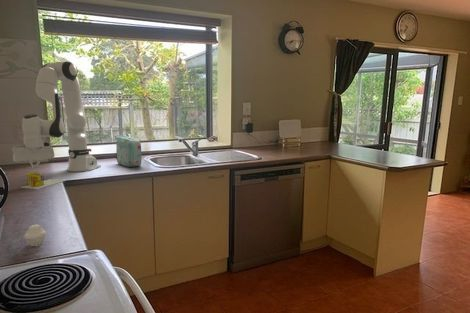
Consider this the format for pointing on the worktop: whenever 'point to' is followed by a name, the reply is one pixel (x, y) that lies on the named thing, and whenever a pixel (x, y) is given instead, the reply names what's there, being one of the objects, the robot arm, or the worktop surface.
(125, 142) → the lunch box
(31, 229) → the muffin
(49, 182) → the mat
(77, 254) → the worktop surface
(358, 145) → the worktop surface
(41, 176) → the supplement box
